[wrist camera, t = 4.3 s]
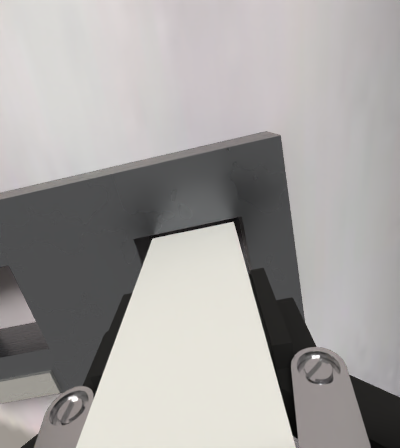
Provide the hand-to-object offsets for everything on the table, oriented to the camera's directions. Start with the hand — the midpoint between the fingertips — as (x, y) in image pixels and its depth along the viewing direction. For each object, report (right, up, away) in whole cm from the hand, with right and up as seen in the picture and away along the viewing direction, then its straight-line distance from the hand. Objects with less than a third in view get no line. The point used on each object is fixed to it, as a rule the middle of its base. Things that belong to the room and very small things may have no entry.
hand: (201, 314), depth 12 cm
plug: (0, +1, +4) cm, 4 cm away
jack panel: (-6, +1, +7) cm, 9 cm away
